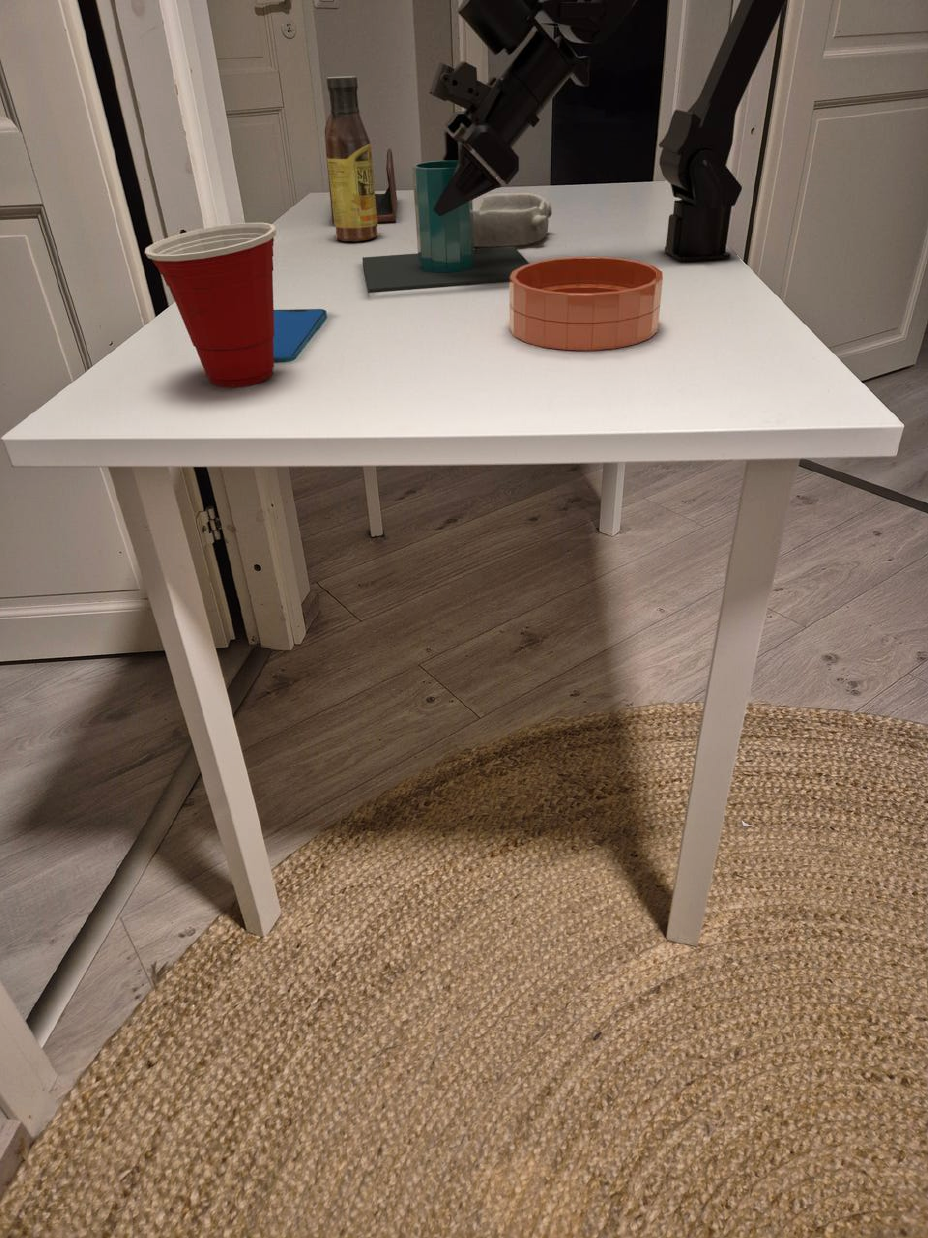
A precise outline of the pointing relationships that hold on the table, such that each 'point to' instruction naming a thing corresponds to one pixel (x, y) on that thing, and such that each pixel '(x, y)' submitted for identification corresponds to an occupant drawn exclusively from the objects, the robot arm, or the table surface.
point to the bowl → (585, 303)
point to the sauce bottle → (350, 164)
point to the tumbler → (441, 221)
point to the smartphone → (294, 331)
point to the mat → (409, 276)
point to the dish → (510, 219)
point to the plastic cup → (224, 297)
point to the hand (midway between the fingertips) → (431, 205)
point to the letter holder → (384, 202)
